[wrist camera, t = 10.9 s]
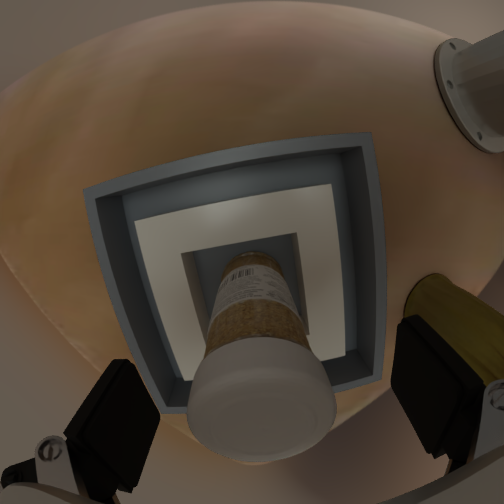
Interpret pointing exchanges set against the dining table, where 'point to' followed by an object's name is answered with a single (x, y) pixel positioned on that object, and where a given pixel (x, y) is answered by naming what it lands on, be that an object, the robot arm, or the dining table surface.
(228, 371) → the sprinkles bottle
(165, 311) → the block
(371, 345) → the open box
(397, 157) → the dining table surface
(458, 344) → the vase
